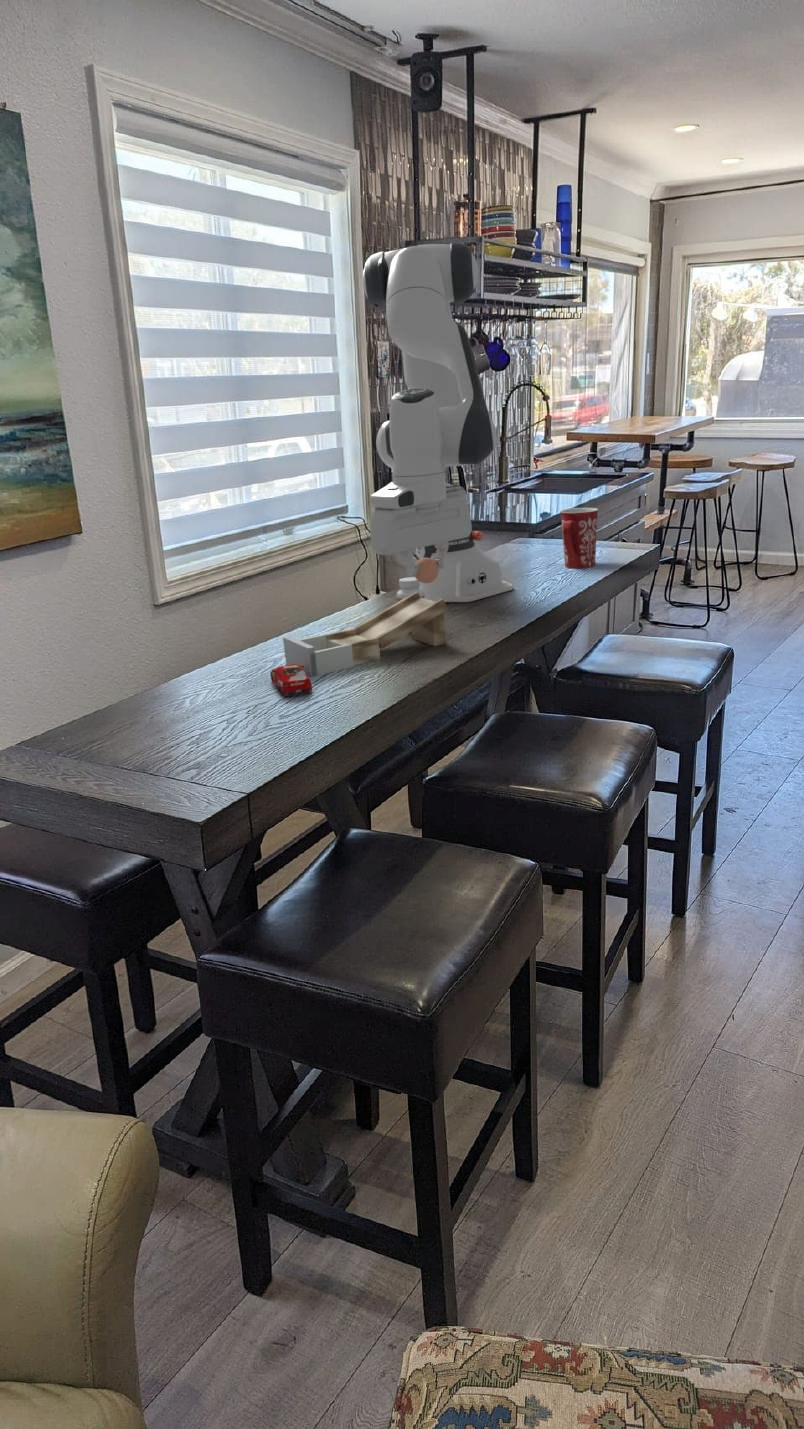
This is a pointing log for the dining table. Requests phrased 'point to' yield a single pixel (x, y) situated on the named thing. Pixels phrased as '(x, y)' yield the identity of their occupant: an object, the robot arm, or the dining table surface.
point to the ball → (427, 570)
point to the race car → (291, 680)
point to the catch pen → (317, 655)
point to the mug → (579, 536)
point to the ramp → (394, 628)
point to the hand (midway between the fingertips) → (425, 572)
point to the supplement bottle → (409, 588)
